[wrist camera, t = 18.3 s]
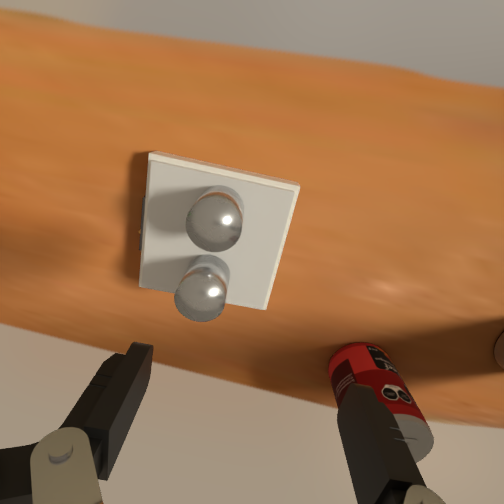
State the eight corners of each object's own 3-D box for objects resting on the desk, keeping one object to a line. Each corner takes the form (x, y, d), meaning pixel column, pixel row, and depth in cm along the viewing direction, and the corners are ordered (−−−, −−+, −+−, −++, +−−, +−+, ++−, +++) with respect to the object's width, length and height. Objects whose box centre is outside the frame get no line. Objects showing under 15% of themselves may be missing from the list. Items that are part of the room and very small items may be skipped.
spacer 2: (234, 260, 30) (230, 285, 26) (224, 297, 32) (218, 326, 27) (191, 249, 30) (179, 272, 25) (183, 286, 32) (170, 315, 27)
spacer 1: (248, 191, 28) (247, 205, 23) (238, 235, 29) (235, 257, 25) (200, 180, 27) (189, 193, 23) (193, 225, 29) (182, 246, 24)
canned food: (395, 374, 40) (442, 459, 30) (337, 392, 42) (364, 479, 32) (379, 331, 37) (425, 409, 27) (318, 352, 39) (340, 434, 29)
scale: (297, 181, 30) (301, 188, 27) (265, 299, 36) (266, 314, 33) (150, 149, 29) (139, 152, 26) (140, 275, 35) (130, 289, 32)
